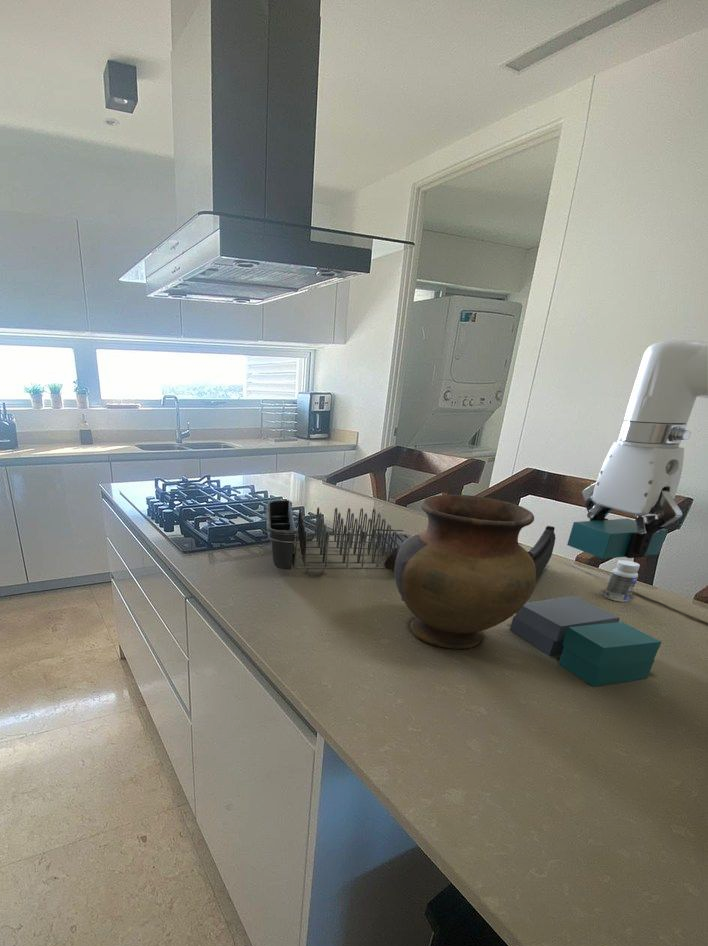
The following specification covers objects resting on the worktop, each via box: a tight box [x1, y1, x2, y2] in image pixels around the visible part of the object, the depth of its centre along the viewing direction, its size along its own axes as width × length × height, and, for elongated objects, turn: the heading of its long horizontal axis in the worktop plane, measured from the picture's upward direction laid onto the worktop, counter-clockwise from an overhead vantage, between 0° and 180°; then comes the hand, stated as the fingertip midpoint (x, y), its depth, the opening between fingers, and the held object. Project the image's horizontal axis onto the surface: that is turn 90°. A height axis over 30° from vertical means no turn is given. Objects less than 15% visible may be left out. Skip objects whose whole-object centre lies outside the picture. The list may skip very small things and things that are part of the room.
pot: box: [383, 494, 537, 650], centre depth 87 cm, size 25×24×25 cm
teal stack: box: [558, 621, 662, 687], centre depth 80 cm, size 11×7×7 cm, turn 104°
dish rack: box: [265, 499, 412, 577], centre depth 128 cm, size 34×44×12 cm
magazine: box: [527, 525, 556, 582], centre depth 115 cm, size 17×3×30 cm
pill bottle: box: [604, 559, 641, 603], centre depth 108 cm, size 5×5×8 cm
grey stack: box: [509, 595, 621, 657], centre depth 90 cm, size 14×10×6 cm
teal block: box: [566, 518, 669, 560], centre depth 78 cm, size 11×7×4 cm, turn 103°
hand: (612, 548), depth 79 cm, fingers closed on teal block, 7 cm apart
